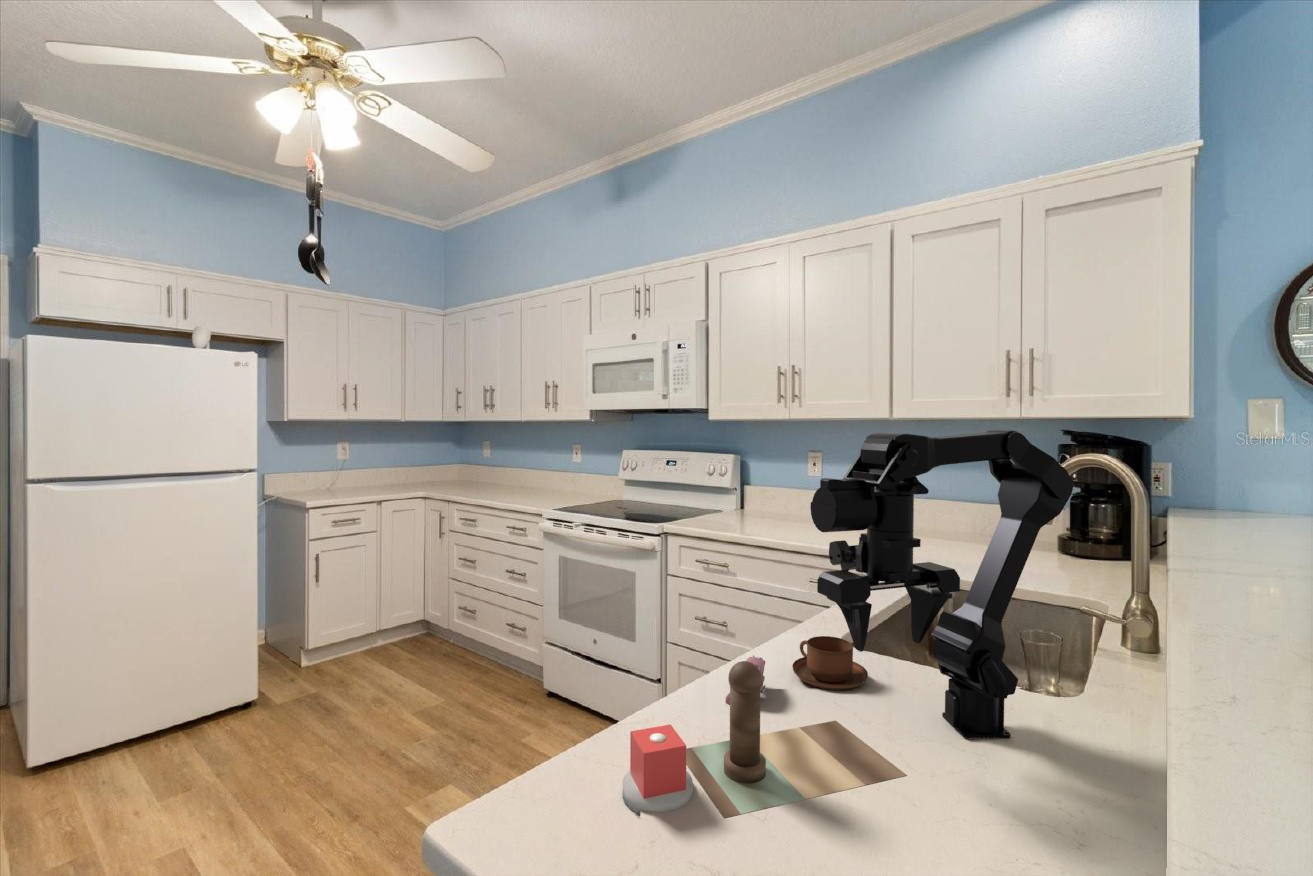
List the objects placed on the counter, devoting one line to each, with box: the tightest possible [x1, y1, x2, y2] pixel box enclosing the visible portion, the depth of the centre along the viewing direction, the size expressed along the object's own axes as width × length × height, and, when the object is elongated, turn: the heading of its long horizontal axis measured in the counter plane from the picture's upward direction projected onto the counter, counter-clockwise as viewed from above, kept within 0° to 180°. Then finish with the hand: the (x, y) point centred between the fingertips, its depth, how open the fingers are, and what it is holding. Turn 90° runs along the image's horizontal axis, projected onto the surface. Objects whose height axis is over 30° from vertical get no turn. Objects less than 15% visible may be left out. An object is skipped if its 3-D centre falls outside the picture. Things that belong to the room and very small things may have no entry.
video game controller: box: [724, 654, 766, 706], centre depth 94 cm, size 10×5×7 cm, turn 169°
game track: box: [686, 720, 908, 819], centre depth 75 cm, size 24×14×1 cm, turn 109°
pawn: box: [724, 660, 766, 784], centre depth 72 cm, size 5×5×13 cm
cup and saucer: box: [792, 635, 869, 691], centre depth 100 cm, size 12×12×6 cm
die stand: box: [622, 724, 694, 815], centre depth 69 cm, size 8×8×7 cm
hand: (888, 646), depth 80 cm, fingers open, 9 cm apart
